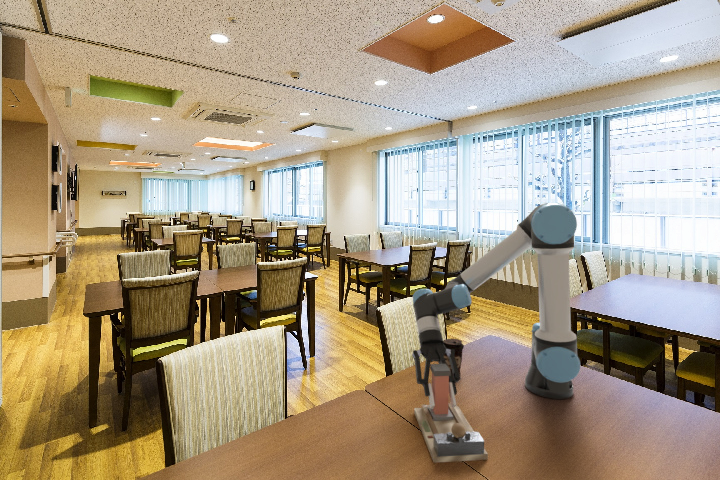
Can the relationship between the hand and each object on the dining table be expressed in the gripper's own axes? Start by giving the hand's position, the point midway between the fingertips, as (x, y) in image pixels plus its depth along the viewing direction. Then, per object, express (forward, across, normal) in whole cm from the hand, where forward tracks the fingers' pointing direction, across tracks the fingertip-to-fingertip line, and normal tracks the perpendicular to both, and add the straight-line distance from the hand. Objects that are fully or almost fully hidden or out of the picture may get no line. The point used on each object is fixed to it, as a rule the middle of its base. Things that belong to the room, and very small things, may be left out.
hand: (443, 406), depth 111 cm
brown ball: (+10, 0, +9) cm, 13 cm away
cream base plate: (+7, 0, -1) cm, 7 cm away
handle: (0, +1, -6) cm, 6 cm away
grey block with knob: (+12, 0, +6) cm, 14 cm away
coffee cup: (-19, -13, -27) cm, 36 cm away
